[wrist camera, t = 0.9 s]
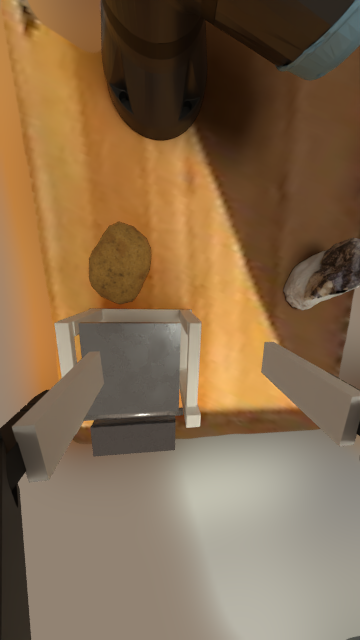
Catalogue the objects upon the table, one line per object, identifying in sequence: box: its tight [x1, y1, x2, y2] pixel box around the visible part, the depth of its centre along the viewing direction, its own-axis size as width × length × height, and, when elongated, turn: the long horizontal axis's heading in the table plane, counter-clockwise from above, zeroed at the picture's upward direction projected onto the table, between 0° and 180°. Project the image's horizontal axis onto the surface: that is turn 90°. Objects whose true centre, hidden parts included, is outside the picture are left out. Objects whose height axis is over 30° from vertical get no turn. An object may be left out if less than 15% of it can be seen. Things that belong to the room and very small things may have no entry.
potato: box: [89, 222, 151, 304], centre depth 28 cm, size 9×13×7 cm
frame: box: [54, 309, 201, 435], centre depth 29 cm, size 18×20×14 cm
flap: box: [78, 322, 183, 456], centre depth 25 cm, size 20×14×4 cm
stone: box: [283, 238, 360, 310], centre depth 31 cm, size 14×10×15 cm
